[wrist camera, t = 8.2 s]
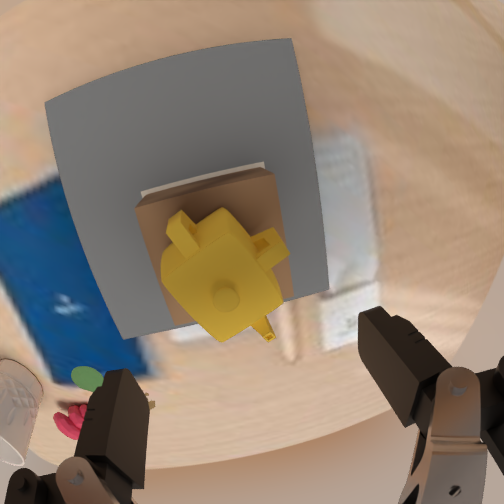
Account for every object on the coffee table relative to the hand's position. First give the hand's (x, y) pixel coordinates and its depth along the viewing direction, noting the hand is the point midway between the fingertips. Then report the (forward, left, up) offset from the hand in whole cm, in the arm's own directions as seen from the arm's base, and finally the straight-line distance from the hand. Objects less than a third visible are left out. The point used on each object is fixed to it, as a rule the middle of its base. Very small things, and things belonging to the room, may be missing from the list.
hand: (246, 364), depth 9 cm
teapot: (0, 0, -9) cm, 9 cm away
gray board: (+1, -3, -14) cm, 14 cm away
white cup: (+27, +11, -14) cm, 32 cm away
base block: (0, 0, -13) cm, 13 cm away
